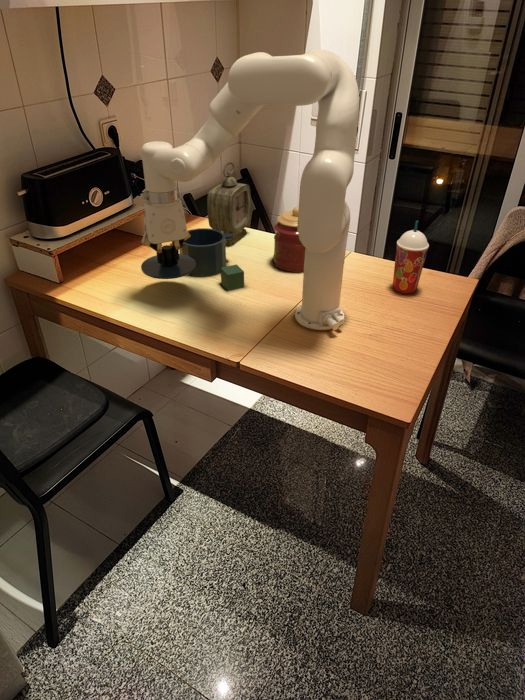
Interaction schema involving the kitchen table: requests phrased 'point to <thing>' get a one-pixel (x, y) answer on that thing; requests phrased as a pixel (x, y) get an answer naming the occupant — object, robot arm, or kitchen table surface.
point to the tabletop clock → (229, 205)
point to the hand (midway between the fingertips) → (168, 263)
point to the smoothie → (409, 260)
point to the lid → (168, 265)
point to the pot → (206, 250)
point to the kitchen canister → (288, 243)
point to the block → (232, 277)
